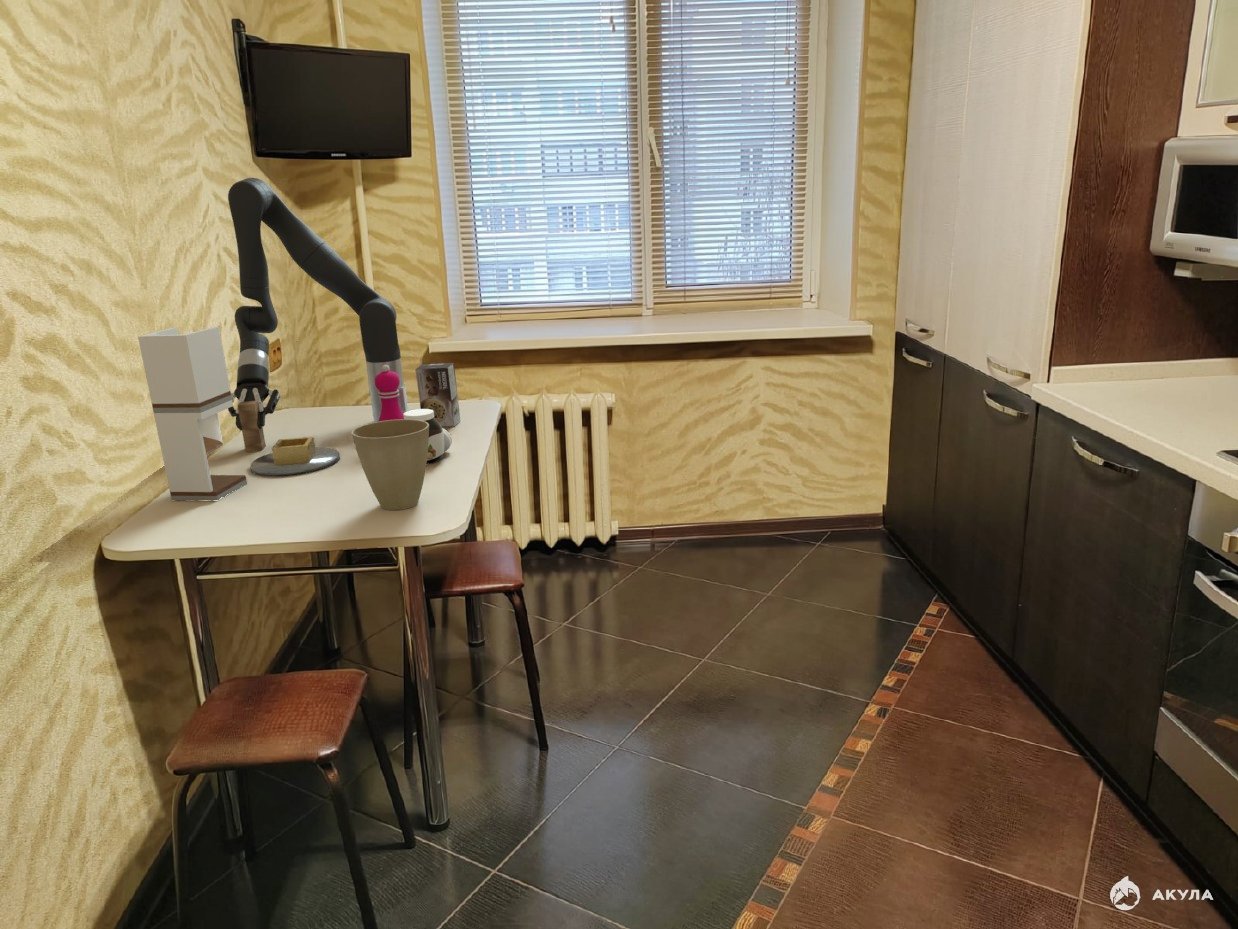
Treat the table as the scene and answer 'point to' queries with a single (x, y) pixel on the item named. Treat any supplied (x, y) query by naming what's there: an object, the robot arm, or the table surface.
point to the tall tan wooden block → (251, 426)
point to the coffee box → (439, 392)
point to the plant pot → (394, 460)
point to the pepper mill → (388, 394)
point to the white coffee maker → (189, 408)
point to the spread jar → (432, 433)
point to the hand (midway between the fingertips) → (250, 427)
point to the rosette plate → (295, 458)
